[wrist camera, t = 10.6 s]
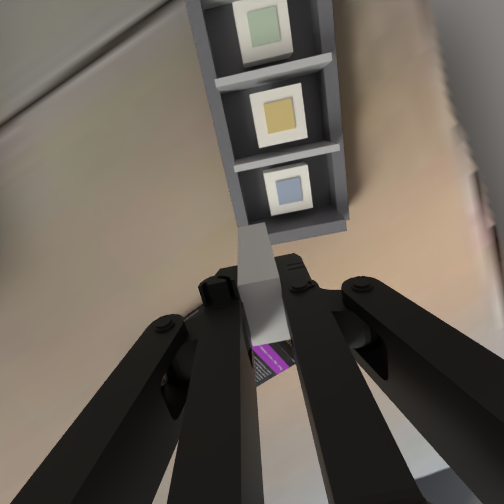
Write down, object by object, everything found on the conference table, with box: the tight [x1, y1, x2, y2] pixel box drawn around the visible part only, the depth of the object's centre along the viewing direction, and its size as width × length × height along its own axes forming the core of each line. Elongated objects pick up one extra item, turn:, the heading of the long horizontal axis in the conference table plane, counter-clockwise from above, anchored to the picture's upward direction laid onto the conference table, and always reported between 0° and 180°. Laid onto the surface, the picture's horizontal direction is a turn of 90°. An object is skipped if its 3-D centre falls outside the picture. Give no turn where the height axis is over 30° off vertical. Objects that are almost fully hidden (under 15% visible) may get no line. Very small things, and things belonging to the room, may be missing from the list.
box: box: [162, 304, 295, 387], centre depth 42 cm, size 14×4×20 cm
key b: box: [263, 162, 313, 216], centre depth 32 cm, size 4×4×3 cm
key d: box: [249, 83, 308, 148], centre depth 27 cm, size 4×4×3 cm
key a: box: [232, 0, 293, 68], centre depth 26 cm, size 4×4×3 cm
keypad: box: [185, 0, 350, 245], centre depth 27 cm, size 12×30×6 cm, turn 11°
